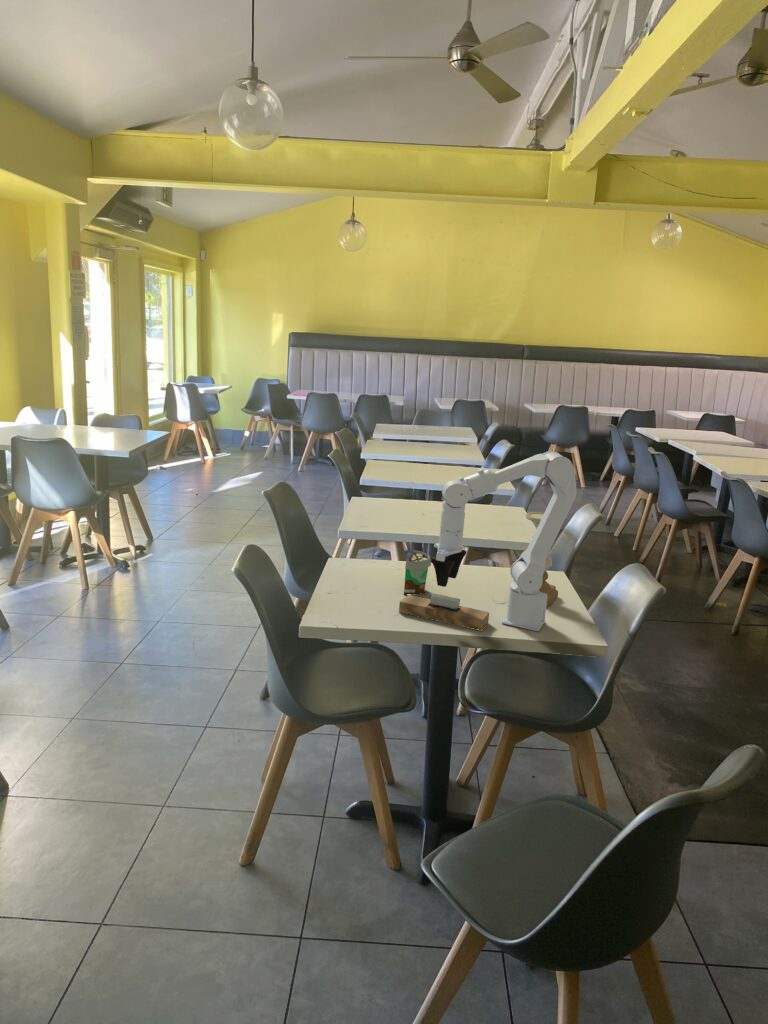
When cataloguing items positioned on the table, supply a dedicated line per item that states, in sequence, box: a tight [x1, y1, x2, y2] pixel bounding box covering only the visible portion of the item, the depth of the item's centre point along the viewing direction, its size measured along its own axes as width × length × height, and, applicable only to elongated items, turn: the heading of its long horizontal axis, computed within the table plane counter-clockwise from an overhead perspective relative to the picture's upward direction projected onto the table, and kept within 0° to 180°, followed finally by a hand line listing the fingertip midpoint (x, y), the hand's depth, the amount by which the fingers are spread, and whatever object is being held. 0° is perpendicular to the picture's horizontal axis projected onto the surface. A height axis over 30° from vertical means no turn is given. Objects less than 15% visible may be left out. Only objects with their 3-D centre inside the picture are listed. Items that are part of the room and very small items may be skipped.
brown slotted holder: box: [398, 595, 490, 631], centre depth 184 cm, size 22×6×3 cm, turn 66°
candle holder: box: [525, 511, 559, 608], centre depth 202 cm, size 11×11×24 cm
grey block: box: [429, 593, 461, 612], centre depth 184 cm, size 7×2×6 cm, turn 66°
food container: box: [403, 549, 432, 595], centre depth 202 cm, size 12×6×10 cm, turn 168°
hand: (446, 581), depth 182 cm, fingers open, 7 cm apart
